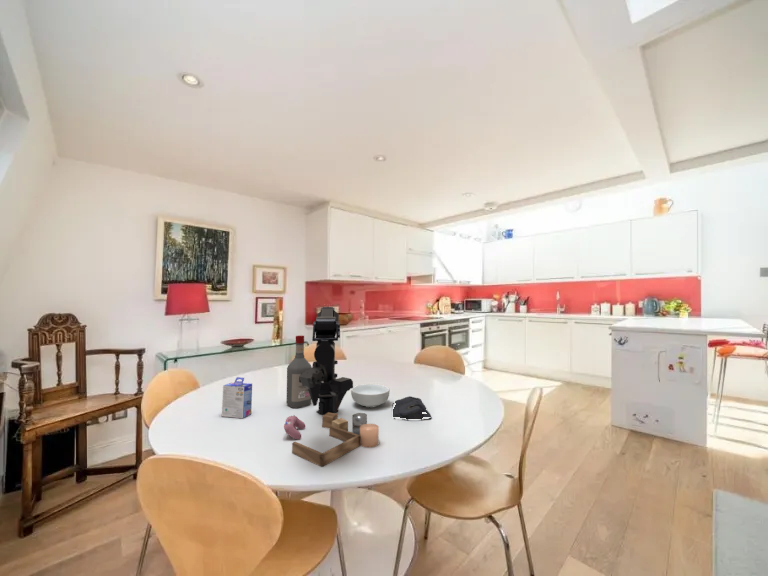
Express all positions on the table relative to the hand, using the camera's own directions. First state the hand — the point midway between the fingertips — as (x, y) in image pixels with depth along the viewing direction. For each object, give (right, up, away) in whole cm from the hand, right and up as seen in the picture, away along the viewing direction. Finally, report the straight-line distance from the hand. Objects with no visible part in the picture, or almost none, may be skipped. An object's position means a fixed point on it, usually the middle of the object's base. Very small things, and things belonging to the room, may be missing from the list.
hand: (324, 408), depth 95 cm
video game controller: (-12, -13, +9) cm, 20 cm away
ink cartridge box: (-40, -13, +26) cm, 50 cm away
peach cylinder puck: (+14, -12, +3) cm, 18 cm away
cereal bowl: (+12, -14, +40) cm, 44 cm away
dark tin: (+10, -12, +10) cm, 19 cm away
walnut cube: (-1, -13, +16) cm, 21 cm away
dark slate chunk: (+29, -14, +32) cm, 46 cm away
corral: (+1, -12, -2) cm, 12 cm away
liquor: (-19, -14, +39) cm, 46 cm away
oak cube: (+3, -13, +11) cm, 17 cm away
